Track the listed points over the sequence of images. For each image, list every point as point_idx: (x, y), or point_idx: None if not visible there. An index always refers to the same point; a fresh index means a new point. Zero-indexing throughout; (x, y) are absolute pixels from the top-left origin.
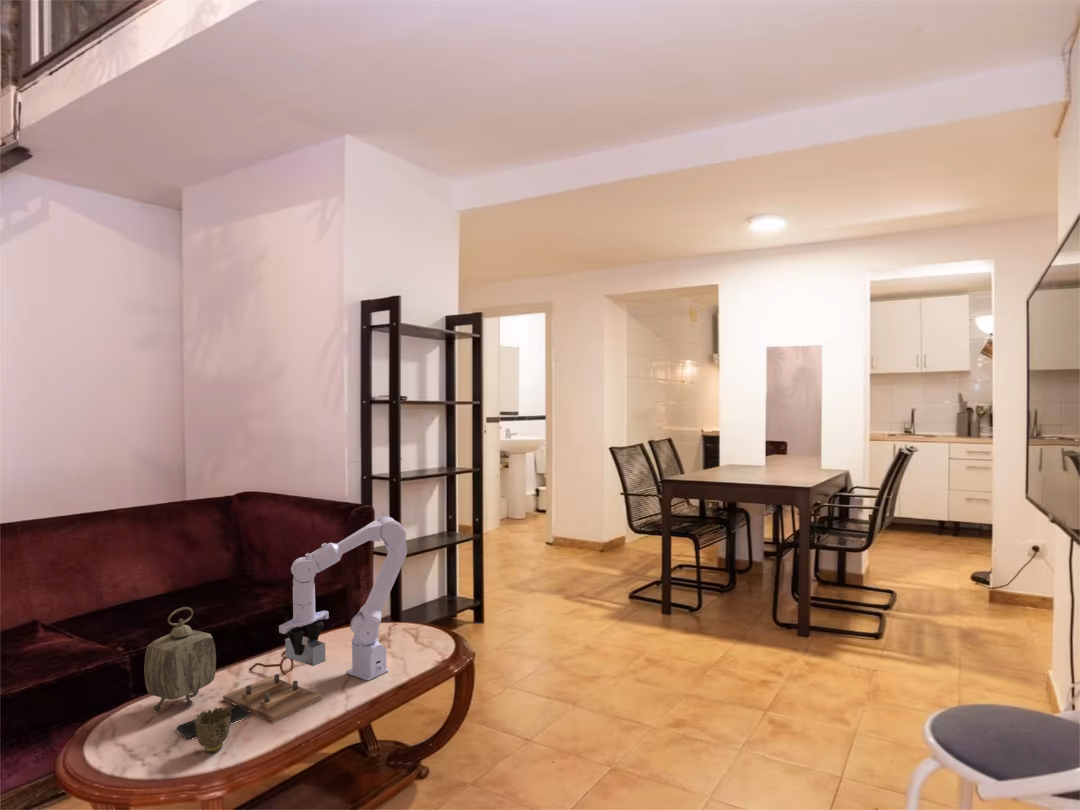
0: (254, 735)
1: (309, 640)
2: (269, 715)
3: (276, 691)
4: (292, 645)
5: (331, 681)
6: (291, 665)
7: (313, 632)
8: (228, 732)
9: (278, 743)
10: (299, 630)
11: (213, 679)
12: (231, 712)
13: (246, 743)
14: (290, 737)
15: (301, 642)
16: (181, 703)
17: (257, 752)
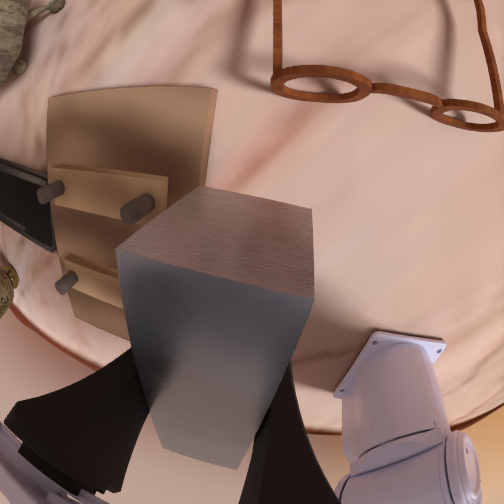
0: (51, 304)
1: (222, 431)
2: (71, 304)
3: (128, 232)
4: (119, 356)
5: (306, 323)
6: (352, 93)
7: (248, 483)
8: (9, 306)
9: (72, 347)
10: (97, 484)
11: (5, 76)
12: (35, 202)
13: (41, 306)
14: (87, 356)
15: (138, 426)
16: (31, 36)
17: (49, 332)
